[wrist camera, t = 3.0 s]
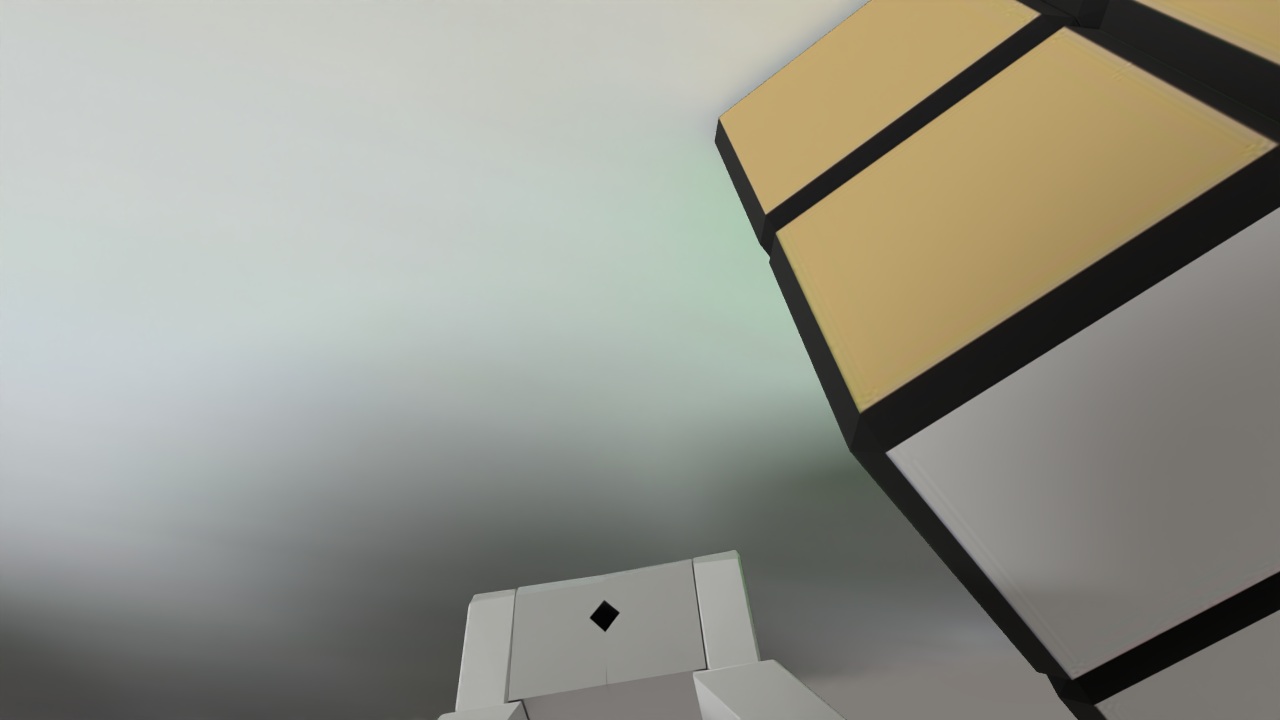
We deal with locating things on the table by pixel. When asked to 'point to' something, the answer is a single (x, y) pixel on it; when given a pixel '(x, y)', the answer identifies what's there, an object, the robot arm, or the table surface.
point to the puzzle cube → (1052, 317)
